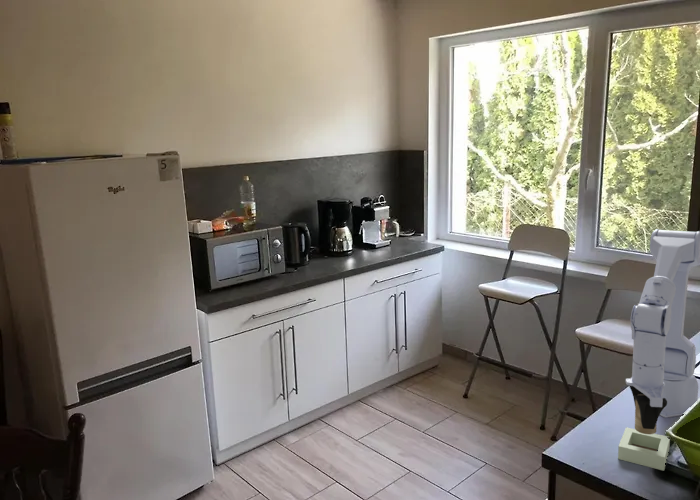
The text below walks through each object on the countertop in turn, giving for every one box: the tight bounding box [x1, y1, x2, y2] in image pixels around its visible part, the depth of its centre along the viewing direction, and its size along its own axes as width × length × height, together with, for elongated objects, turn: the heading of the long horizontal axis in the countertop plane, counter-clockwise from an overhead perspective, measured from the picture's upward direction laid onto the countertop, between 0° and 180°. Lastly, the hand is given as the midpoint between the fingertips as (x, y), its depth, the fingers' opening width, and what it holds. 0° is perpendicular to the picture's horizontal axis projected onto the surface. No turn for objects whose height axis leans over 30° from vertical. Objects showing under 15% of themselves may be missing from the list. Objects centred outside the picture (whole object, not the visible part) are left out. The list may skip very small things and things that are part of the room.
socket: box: [617, 427, 671, 472], centre depth 120 cm, size 8×8×3 cm
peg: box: [634, 394, 658, 434], centre depth 118 cm, size 4×4×7 cm
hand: (645, 422), depth 118 cm, fingers closed on peg, 4 cm apart
